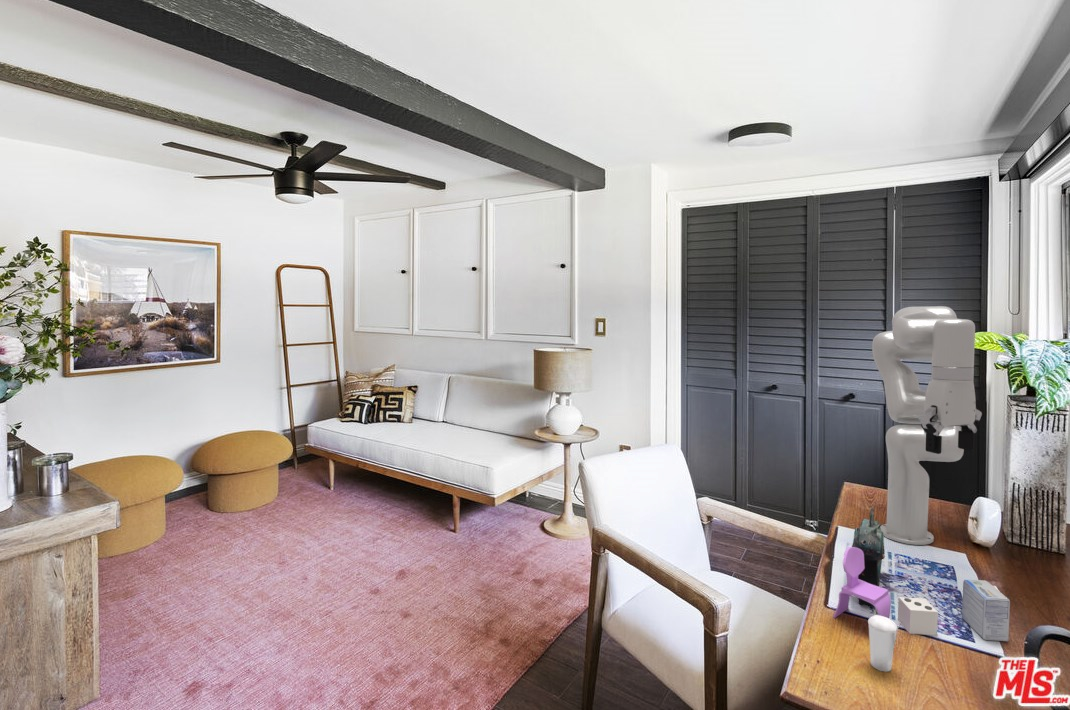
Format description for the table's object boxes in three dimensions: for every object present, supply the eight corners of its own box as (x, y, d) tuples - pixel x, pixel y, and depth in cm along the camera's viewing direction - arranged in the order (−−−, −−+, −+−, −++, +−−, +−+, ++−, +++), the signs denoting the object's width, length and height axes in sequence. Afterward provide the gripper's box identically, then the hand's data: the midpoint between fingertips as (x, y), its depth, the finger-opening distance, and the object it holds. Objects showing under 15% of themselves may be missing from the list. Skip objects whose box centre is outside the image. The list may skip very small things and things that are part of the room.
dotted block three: (897, 619, 116) (898, 596, 116) (923, 621, 116) (925, 597, 115) (909, 633, 112) (910, 609, 111) (937, 635, 111) (938, 611, 110)
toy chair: (875, 639, 110) (878, 566, 109) (830, 619, 117) (832, 550, 116) (893, 624, 115) (896, 554, 113) (848, 606, 122) (850, 540, 120)
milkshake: (894, 680, 98) (896, 626, 97) (862, 664, 102) (863, 613, 101) (905, 670, 101) (907, 617, 100) (873, 655, 105) (875, 604, 104)
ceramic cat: (882, 613, 119) (886, 523, 117) (848, 605, 122) (850, 517, 120) (883, 574, 135) (886, 494, 134) (852, 568, 139) (855, 490, 137)
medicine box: (1009, 642, 108) (1011, 600, 107) (982, 640, 109) (985, 598, 108) (985, 619, 116) (987, 579, 115) (960, 617, 116) (962, 578, 116)
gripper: (963, 372, 130) (961, 445, 131) (906, 374, 125) (904, 450, 126) (998, 375, 123) (995, 451, 124) (939, 377, 118) (936, 457, 119)
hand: (949, 450), depth 125 cm, fingers open, 9 cm apart
